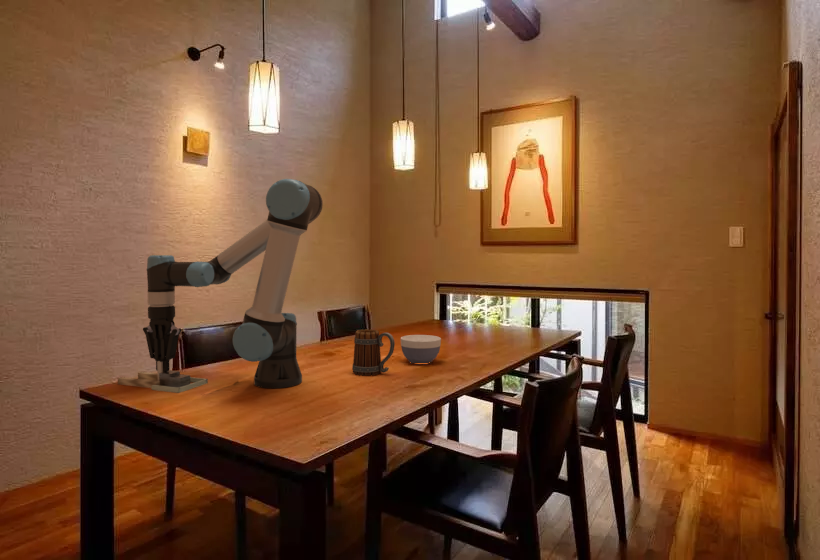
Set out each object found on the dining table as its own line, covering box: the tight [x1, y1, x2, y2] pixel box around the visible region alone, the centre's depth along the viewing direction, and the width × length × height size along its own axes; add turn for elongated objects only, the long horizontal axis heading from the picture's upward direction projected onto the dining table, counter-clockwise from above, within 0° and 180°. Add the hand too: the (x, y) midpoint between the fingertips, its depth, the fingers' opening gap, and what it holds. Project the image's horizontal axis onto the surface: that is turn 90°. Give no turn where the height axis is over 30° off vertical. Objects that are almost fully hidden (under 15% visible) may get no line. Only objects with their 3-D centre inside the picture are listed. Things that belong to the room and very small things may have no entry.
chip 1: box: [159, 369, 181, 387], centre depth 153 cm, size 4×4×4 cm
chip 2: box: [170, 373, 191, 388], centre depth 152 cm, size 4×4×4 cm
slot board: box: [117, 371, 160, 389], centre depth 156 cm, size 15×9×3 cm, turn 71°
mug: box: [351, 329, 395, 377], centre depth 177 cm, size 16×11×15 cm
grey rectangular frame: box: [151, 376, 209, 394], centre depth 152 cm, size 10×12×3 cm
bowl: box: [400, 334, 442, 364], centre depth 196 cm, size 16×16×10 cm
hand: (163, 381), depth 154 cm, fingers closed
